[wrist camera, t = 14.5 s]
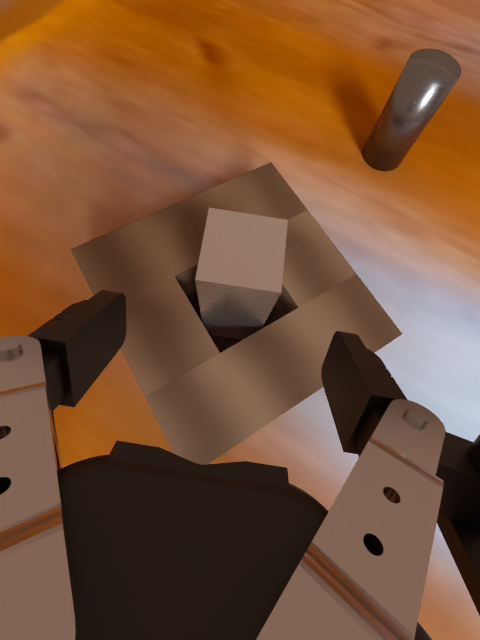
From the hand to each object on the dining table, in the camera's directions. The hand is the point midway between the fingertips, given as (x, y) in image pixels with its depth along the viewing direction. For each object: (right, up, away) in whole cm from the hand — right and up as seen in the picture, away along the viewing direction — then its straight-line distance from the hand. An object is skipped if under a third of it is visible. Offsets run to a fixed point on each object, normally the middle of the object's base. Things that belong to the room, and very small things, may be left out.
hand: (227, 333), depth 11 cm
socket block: (0, +1, +12) cm, 12 cm away
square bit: (0, +1, +12) cm, 12 cm away
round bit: (+15, +17, +18) cm, 29 cm away
